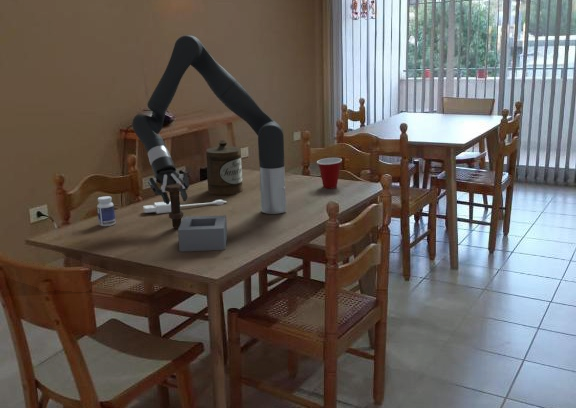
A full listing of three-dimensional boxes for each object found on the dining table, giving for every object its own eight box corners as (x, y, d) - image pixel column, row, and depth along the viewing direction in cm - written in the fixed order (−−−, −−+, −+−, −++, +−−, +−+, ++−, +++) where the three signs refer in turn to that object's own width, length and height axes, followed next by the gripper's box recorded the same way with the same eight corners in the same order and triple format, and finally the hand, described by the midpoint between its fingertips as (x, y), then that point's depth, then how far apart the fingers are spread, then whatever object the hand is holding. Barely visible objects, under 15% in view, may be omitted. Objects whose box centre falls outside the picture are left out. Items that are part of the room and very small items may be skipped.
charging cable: (228, 207, 238) (228, 199, 237) (145, 215, 226) (145, 206, 225) (224, 204, 242) (224, 196, 242) (143, 211, 230) (142, 203, 229)
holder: (227, 235, 200) (226, 215, 199) (224, 249, 187) (223, 228, 185) (185, 236, 200) (183, 216, 198) (179, 251, 186) (177, 230, 185)
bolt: (180, 230, 206) (177, 187, 202) (167, 229, 207) (163, 187, 203) (186, 224, 212) (183, 183, 208) (173, 224, 213) (170, 183, 209)
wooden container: (229, 196, 249) (226, 144, 243) (201, 192, 256) (197, 142, 251) (249, 188, 262) (247, 138, 256) (221, 185, 269) (219, 136, 263)
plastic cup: (313, 185, 264) (313, 158, 261) (336, 183, 267) (336, 156, 264) (322, 191, 254) (321, 163, 251) (345, 188, 257) (345, 161, 254)
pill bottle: (118, 222, 218) (116, 196, 215) (109, 227, 213) (106, 200, 210) (105, 221, 220) (102, 195, 217) (95, 226, 215) (92, 199, 212)
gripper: (143, 158, 205) (159, 199, 199) (182, 152, 213) (199, 192, 206) (139, 170, 211) (154, 211, 205) (178, 165, 218) (193, 203, 212)
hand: (176, 201), depth 205 cm, fingers closed on bolt, 5 cm apart
